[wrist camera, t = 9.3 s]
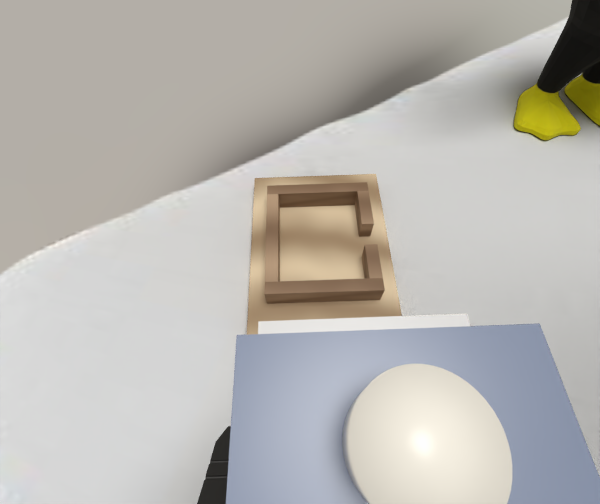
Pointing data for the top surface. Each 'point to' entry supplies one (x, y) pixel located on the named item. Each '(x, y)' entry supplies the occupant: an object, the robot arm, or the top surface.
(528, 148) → the top surface
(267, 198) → the wooden fixture board
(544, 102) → the toy
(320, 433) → the servo block
